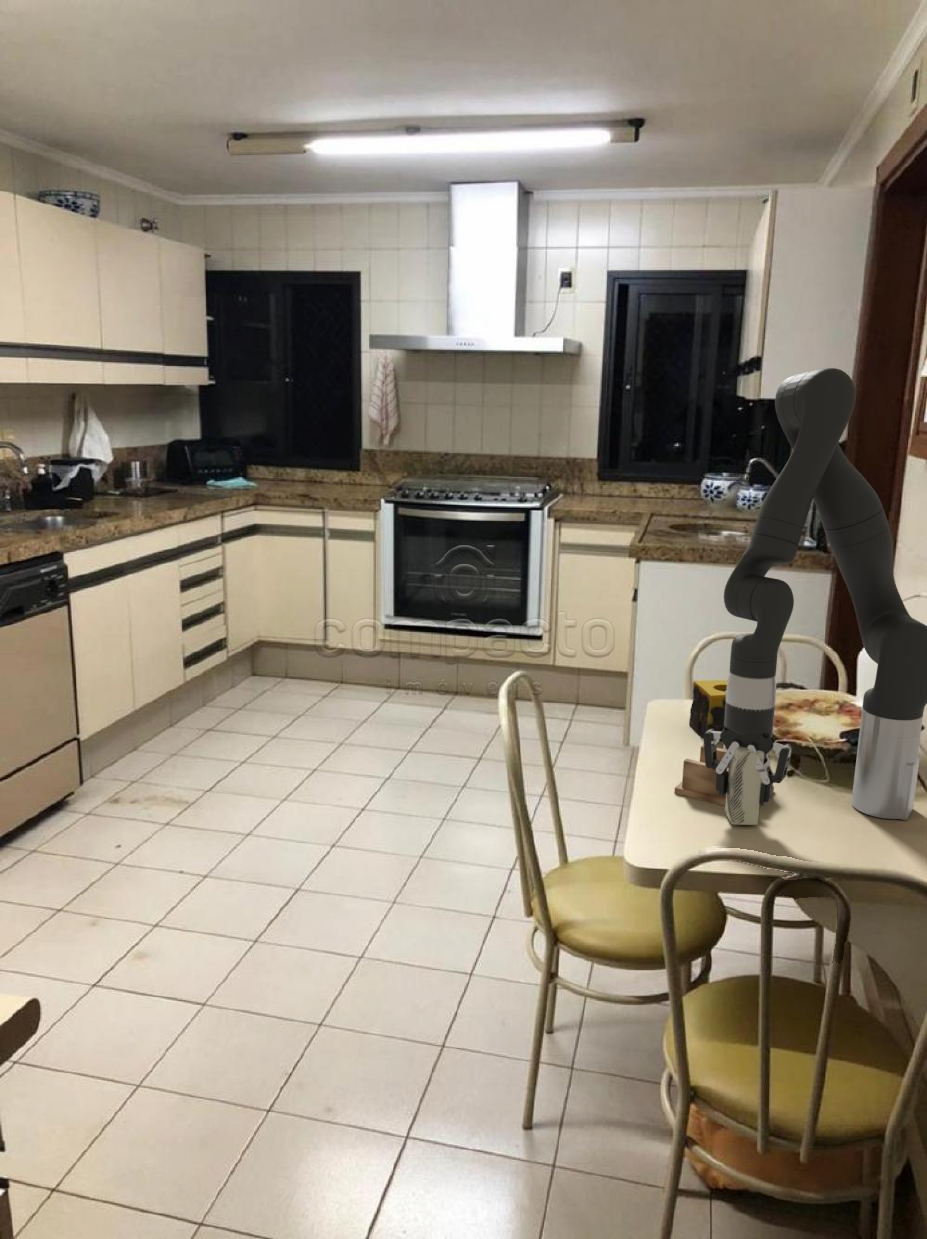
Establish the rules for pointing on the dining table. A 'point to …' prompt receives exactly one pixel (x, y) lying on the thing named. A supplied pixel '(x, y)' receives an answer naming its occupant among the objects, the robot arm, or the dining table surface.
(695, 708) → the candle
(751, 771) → the box
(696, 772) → the rack
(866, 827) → the dining table surface
